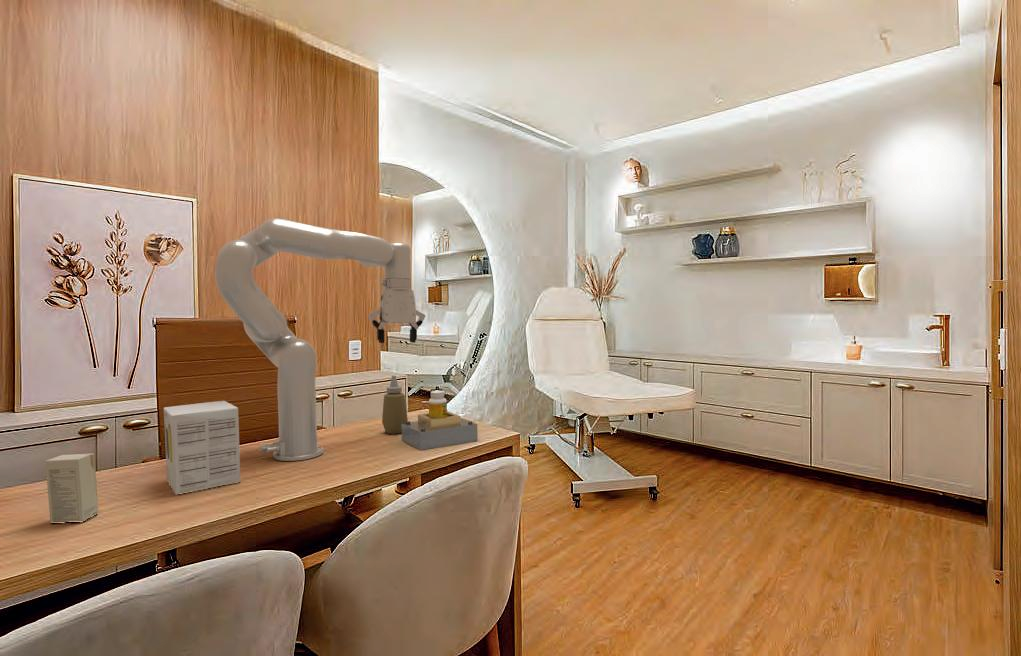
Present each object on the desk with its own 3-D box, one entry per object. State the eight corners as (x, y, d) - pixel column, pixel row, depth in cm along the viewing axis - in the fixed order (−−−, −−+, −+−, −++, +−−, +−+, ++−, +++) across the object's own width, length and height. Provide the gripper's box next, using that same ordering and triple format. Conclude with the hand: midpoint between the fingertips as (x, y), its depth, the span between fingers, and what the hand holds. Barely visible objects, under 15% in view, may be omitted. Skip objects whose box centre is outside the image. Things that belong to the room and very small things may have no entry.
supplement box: (165, 481, 124) (162, 406, 124) (228, 469, 133) (225, 399, 132) (174, 496, 114) (171, 415, 113) (242, 483, 123) (239, 407, 122)
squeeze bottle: (379, 430, 172) (378, 375, 171) (404, 428, 176) (403, 373, 175) (385, 436, 165) (383, 378, 164) (410, 433, 168) (409, 376, 168)
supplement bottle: (431, 421, 161) (430, 390, 161) (449, 421, 161) (448, 390, 160) (427, 425, 156) (426, 393, 156) (445, 425, 155) (444, 393, 155)
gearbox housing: (420, 450, 148) (420, 423, 148) (401, 440, 160) (401, 415, 160) (477, 440, 158) (477, 415, 158) (456, 431, 170) (455, 408, 169)
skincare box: (99, 514, 105) (97, 452, 104) (82, 523, 100) (79, 459, 100) (66, 515, 104) (63, 453, 104) (47, 524, 100) (44, 459, 100)
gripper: (372, 283, 152) (372, 343, 152) (429, 285, 161) (429, 342, 161) (365, 284, 158) (364, 342, 159) (420, 286, 167) (419, 341, 168)
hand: (397, 342), depth 160 cm, fingers open, 9 cm apart
